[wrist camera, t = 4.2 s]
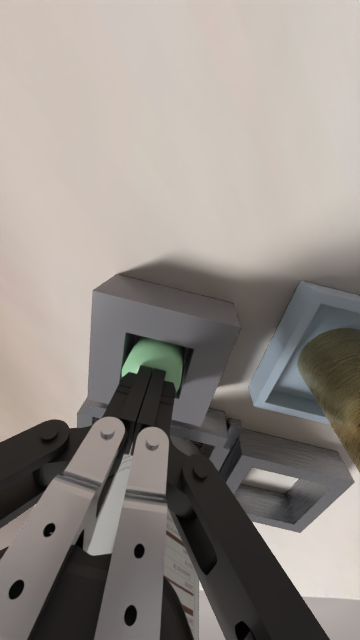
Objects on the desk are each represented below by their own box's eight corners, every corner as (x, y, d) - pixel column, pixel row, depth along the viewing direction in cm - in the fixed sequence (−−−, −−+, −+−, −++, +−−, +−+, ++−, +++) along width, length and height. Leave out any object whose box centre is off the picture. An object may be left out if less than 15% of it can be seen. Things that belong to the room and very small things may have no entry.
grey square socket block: (116, 274, 14) (92, 290, 11) (232, 303, 15) (241, 327, 11) (107, 367, 18) (87, 399, 15) (201, 389, 18) (200, 426, 15)
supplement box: (148, 471, 24) (100, 700, 13) (99, 432, 22) (-12, 666, 11) (203, 448, 21) (203, 710, 10) (153, 402, 19) (82, 666, 8)
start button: (139, 321, 14) (125, 346, 12) (190, 334, 14) (187, 361, 12) (133, 362, 16) (118, 392, 13) (178, 373, 16) (173, 406, 13)
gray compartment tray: (92, 379, 19) (77, 402, 17) (346, 441, 19) (366, 471, 17) (87, 462, 24) (75, 487, 22) (285, 509, 25) (293, 539, 22)
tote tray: (300, 280, 14) (315, 290, 12) (438, 315, 14) (474, 330, 12) (248, 386, 18) (253, 406, 16) (355, 412, 18) (372, 435, 16)
